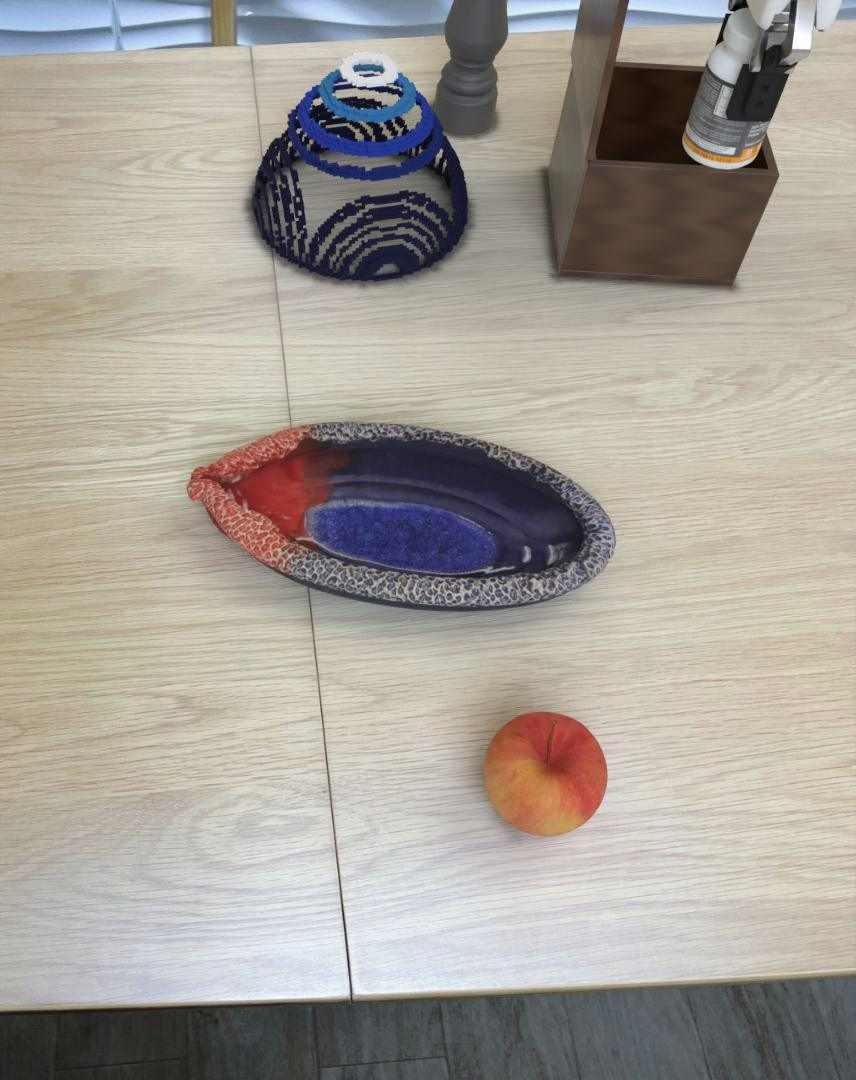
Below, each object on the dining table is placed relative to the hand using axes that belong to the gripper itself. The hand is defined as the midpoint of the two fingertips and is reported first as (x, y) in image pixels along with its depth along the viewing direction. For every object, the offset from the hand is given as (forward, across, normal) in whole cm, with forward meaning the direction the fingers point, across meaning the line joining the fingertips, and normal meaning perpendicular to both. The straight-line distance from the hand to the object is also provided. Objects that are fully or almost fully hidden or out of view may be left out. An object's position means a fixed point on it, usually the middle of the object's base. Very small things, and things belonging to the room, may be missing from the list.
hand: (739, 90), depth 79 cm
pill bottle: (+5, 0, 0) cm, 5 cm away
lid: (+1, +12, +8) cm, 14 cm away
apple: (+21, -46, +15) cm, 53 cm away
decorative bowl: (+21, +12, +27) cm, 36 cm away
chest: (+21, +11, +1) cm, 24 cm away
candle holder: (+21, +28, +16) cm, 39 cm away
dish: (+21, -26, +24) cm, 41 cm away
